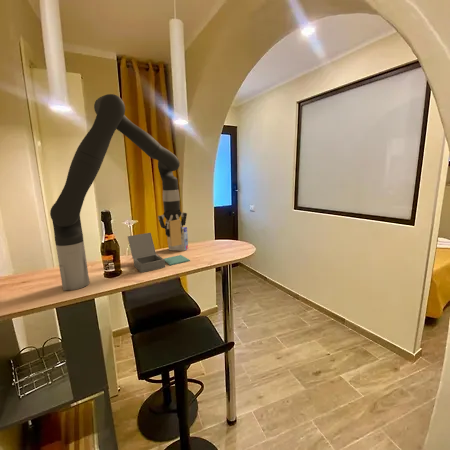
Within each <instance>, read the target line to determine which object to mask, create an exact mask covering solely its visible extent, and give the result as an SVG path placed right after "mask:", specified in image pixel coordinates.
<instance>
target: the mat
mask: <svg viewBox="0 0 450 450" xmlns="http://www.w3.org/2000/svg"><path fill="white" fill-rule="evenodd" d="M163 259H165V264H168V265H169V266H174V265H177V264H178V265H180V264H183V263H187V262H191V259H189V258H188V257H186V256H184V255H182V254H179V255H173V256H169V257H165V258H164V257H163Z"/></svg>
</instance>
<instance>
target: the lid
mask: <svg viewBox="0 0 450 450" xmlns="http://www.w3.org/2000/svg"><path fill="white" fill-rule="evenodd" d="M127 241H128V244H129V248H130V252H131V253H130V254H131V257H132V259H134V258H139V257H144V256H149V255H154V254H157V252H156V248H155V243H154V241H153V235H152V233H151V232H146V233H140V234H134V235H128V236H127Z"/></svg>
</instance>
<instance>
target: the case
mask: <svg viewBox="0 0 450 450" xmlns="http://www.w3.org/2000/svg"><path fill="white" fill-rule="evenodd" d="M132 259H133V258H132ZM133 266H134V267H135V268H136V269H137V270H138V271H139V273H145V272H149V271H150V272H151V271H155V270H158V269H162V268H166V262H165V259H164V257H162V256H160V255H158V254H157V253H156V254H154V255H149V256H144V257H139V258H134V259H133Z"/></svg>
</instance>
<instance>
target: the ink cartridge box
mask: <svg viewBox="0 0 450 450" xmlns="http://www.w3.org/2000/svg"><path fill="white" fill-rule="evenodd" d="M181 241H182V245H177V246H170V245H168V244H167V245H168V247H167V248H168V251H178V252H179V251H181V252H182V251H184V252H185V251H187V250H188V249H189V237H188V227H186V226H182V234H181Z"/></svg>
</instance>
